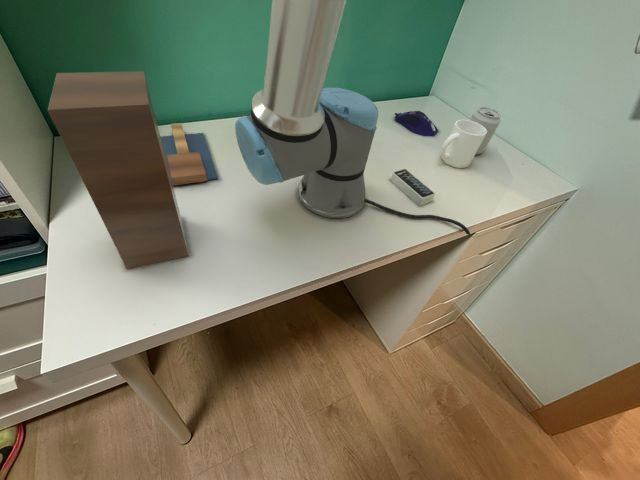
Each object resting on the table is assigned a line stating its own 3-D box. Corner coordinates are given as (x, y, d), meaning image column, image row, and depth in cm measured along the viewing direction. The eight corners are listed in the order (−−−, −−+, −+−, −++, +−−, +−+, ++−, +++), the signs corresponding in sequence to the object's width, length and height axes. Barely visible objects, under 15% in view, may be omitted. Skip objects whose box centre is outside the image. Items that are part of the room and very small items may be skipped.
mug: (443, 173, 88) (460, 139, 81) (424, 156, 93) (438, 123, 85) (475, 166, 93) (493, 133, 85) (455, 150, 98) (471, 118, 90)
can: (458, 152, 97) (477, 113, 88) (457, 140, 102) (475, 102, 93) (483, 158, 96) (505, 120, 87) (481, 146, 101) (502, 108, 92)
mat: (154, 139, 83) (153, 137, 82) (203, 134, 87) (202, 132, 86) (161, 187, 71) (160, 185, 70) (218, 179, 75) (217, 177, 74)
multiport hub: (419, 205, 77) (422, 198, 76) (389, 179, 83) (392, 172, 81) (432, 201, 79) (435, 193, 77) (402, 175, 85) (405, 168, 83)
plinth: (125, 229, 61) (56, 72, 41) (181, 219, 65) (143, 70, 45) (126, 269, 55) (47, 109, 35) (188, 256, 59) (148, 104, 39)
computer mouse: (431, 139, 100) (436, 127, 97) (387, 122, 105) (391, 110, 102) (440, 128, 106) (445, 116, 103) (398, 112, 110) (402, 101, 107)
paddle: (163, 131, 84) (161, 124, 83) (191, 129, 87) (190, 122, 85) (173, 185, 71) (171, 178, 69) (206, 181, 73) (205, 173, 72)
